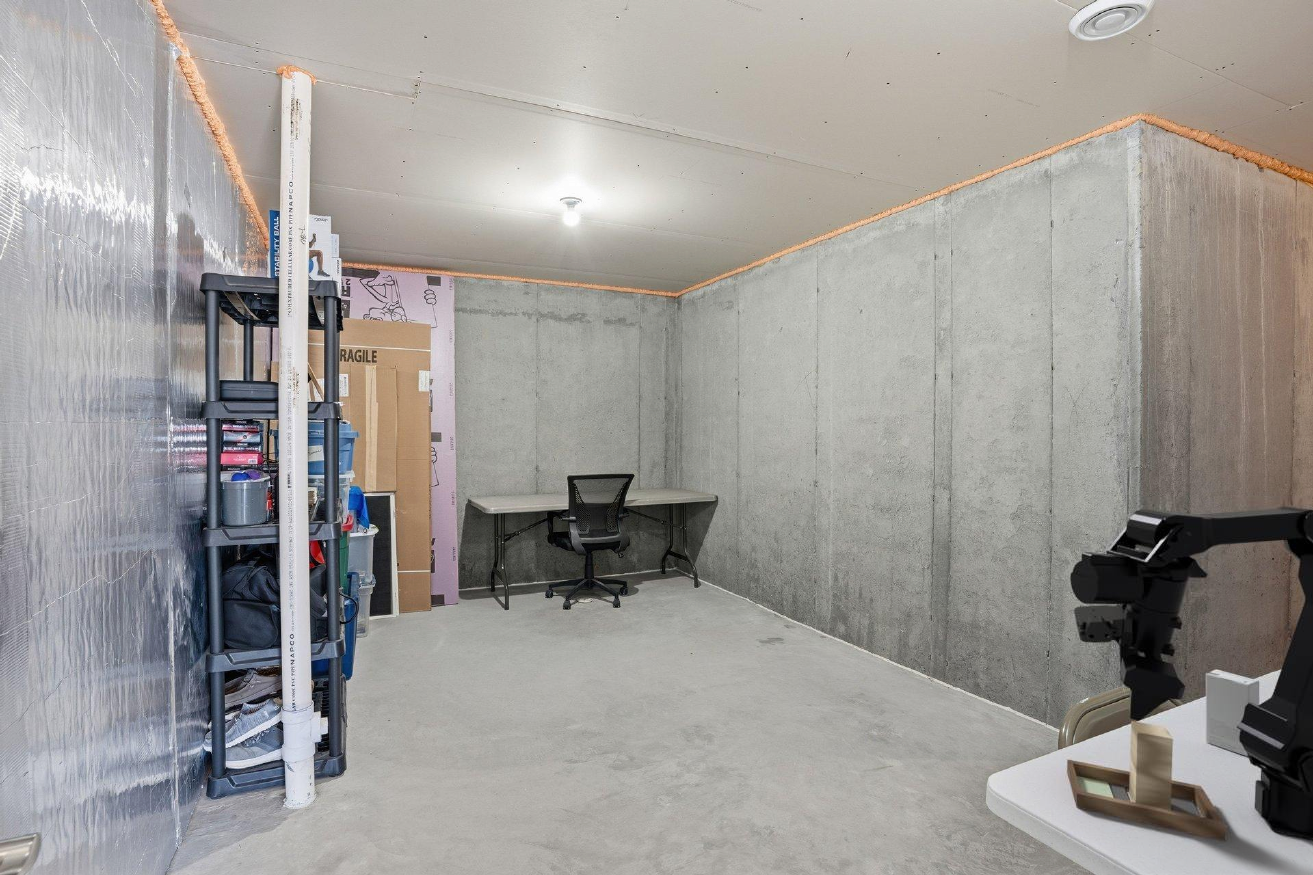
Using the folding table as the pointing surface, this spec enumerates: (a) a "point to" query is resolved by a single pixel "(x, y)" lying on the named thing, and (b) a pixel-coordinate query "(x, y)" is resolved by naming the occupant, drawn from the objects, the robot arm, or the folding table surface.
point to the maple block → (1150, 765)
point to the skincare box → (1227, 707)
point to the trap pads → (1176, 802)
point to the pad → (1094, 786)
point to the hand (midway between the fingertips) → (1129, 699)
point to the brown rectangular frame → (1197, 825)
